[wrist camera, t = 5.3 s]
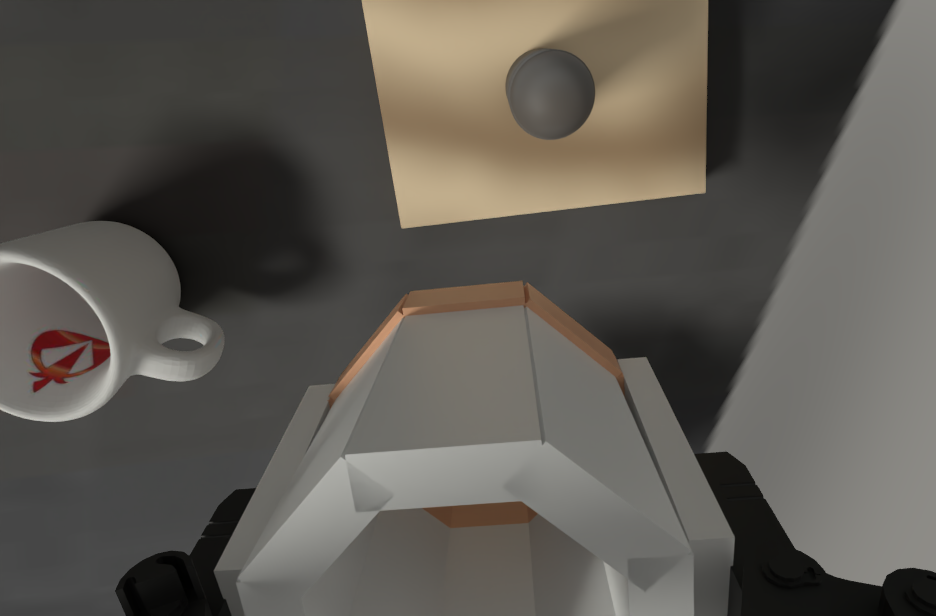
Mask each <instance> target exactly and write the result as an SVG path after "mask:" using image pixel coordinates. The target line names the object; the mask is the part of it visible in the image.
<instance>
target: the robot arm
mask: <svg viewBox="0 0 936 616" xmlns="http://www.w3.org/2000/svg"><path fill="white" fill-rule="evenodd" d="M617 362H618V364H619V367H620V369H621V371H622V373H623V376H624V389H625V399H626V402H627V404H628V406H629V409H630V411H631V413H632V415H633V418H634V420H635V422H636V424H637V427H638V429H639V431H640V434H641V436H642V438H643V440H644V443H645V445H646V447H647V449H648V452H649V454H650V456H651V459H652V461H653V463H654V465H655V468H656V470H657V472H658V475H659V477H660V479H661V481H662V484H663V486H664V488H665V490H666V493H667V495H668V497H669V500H670V502H671V504H672V506H673V509H674V511H675V513H676V516H677V518H678V520H679V522H680V525H681V527H682V529H683V531H684V534H685V536H686V538H687V541H688V543H689V545H690V547H691V550H692V552H693V554H694V616H936V573H934V572H932V571H928V570H922V569H916V568H907V569H898V570H896V571H894V572H892V573H891V574H888V575H887V576H886V579H885V581H884V583H883V586H882V587H881V586H876V585H871V584H865V583H859V582H854V581H849V580H845V579H841V578H837V577H834V576H832V575H829V574H827V573H825V571H824V570H823V568H822V567H821V566H820V565H819V564H818V563H817V562H816V561H815V560H814V559H812V558H811V557H809V556H808V555H806V554H804V553H803V552H801V551H798V550H796V549H795V548H794V546H793V544H792V543H791V541H790V539H789V538H788V536H787V535H786V533H785V531H784V530H783V528H782V526H781V524H780V523H779V521H778V520H777V518H776V516H775V514H774V513H773V511H772V509H771V508H770V506H769V504H768V503H767V501H766V500H765V499H764V498H763V494H762V493H761V491H760V489H759V488H758V486H757V485H755V481H754V479H753V478H752V476H751V474H750V473H749V471H748V469H747V468H746V466H745V465H744V464H742V463H741V462H740V461H739V460H737V459H736V458H735V457H733V456H732V455H731V454H729V453H728V452H716V453H702V454H694V453H693V451H692V449H691V447H690V445H689V443H688V441H687V439H686V437H685V435H684V433H683V431H682V429H681V427H680V425H679V423H678V421H677V419H676V417H675V415H674V413H673V411H672V409H671V407H670V404H669V402H668V400H667V398H666V396H665V394H664V392H663V390H662V388H661V386H660V384H659V382H658V380H657V378H656V376H655V374H654V372H653V370H652V368H651V366H650V364H649V362H648V360H647V358H646V357H640V358H628V359H617ZM334 386H335V384H326V385H314V386H309V387H308V389H307V391H306V393H305V395H304V397H303V399H302V401H301V403H300V405H299V406H298V408H297V410H296V412H295V414H294V416H293V418H292V420H291V422H290V424H289V426H288V428H287V430H286V432H285V434H284V436H283V437H282V439H281V441H280V443H279V445H278V447H277V449H276V451H275V453H274V455H273V457H272V459H271V461H270V463H269V465H268V467H267V468H266V470H265V472H264V474H263V476H262V478H261V480H260V482H259V484H258V486H257V488H252V489H239V490H235V491H234V492H233V493H232V494H231V495H229V496H228V497H227V498H226V499H225V500H224V501H223V502H222V503H221V504H220V505H219V506H218V507H217V509H216V511H215V513H214V514H213V516H212V518H211V519H210V521H209V525H207V526H206V528H205V530H204V532H203V533H202V535H201V539H199V540H198V542H197V544H196V545H195V547H194V549H193V551H192V552H191V554H190V556H189V555H187V554H186V553H184V552H180V551H168V552H163V553H158V554H155V555H153V556H151V557H149V558H146V559H144V560H142V561H141V562H139V563H138V564H137V565H135V566H134V567H132V568H131V569H130V570H129V571H128V572H127V573H126V574H125V575H124V576H123V577H122V578H121V580H120V581H119V584H118V586H117V588H116V590H115V592H116V594H117V596H118V599H119V601H120V603H121V605H122V608H123V610H124V612H125V614H126V616H245V615H244V611H243V607H242V603H241V600H240V596H239V592H238V588H237V585H236V581H237V580H238V579H237V578H238V576H239V574H240V572H241V571H242V569H243V567H244V565H245V563H246V561H247V560H248V558H249V556H250V554H251V552H252V551H253V549H254V547H255V545H256V543H257V541H258V540H259V538H260V536H261V534H262V532H263V531H264V529H265V527H266V525H267V523H268V521H269V520H270V518H271V516H272V514H273V512H274V511H275V509H276V507H277V505H278V503H279V501H280V500H281V498H282V496H283V494H284V492H285V491H286V489H287V487H288V485H289V483H290V482H291V480H292V478H293V476H294V474H295V472H296V471H297V469H298V467H299V465H300V463H301V462H302V460H303V458H304V456H305V454H306V452H307V451H308V449H309V447H310V445H311V443H312V442H313V440H314V438H315V436H316V434H317V432H318V431H319V429H320V427H321V425H322V423H323V422H324V420H325V418H326V416H327V414H328V412H329V411H330V407H329V401H327V400H329V399H330V397H328V396H329V394H330V393H331V391H332V389H333V387H334Z"/></svg>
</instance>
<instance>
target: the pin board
mask: <svg viewBox="0 0 936 616" xmlns="http://www.w3.org/2000/svg"><path fill="white" fill-rule="evenodd" d="M362 5H363V11H364V16H365V22H366V28H367V34H368V39H369V45H370V51H371V56H372V62H373V68H374V74H375V79H376V85H377V91H378V97H379V102H380V108H381V114H382V119H383V125H384V131H385V137H386V142H387V148H388V154H389V159H390V165H391V171H392V177H393V182H394V188H395V194H396V199H397V205H398V211H399V217H400V222H401V228H410V227H419V226H427V225H436V224H444V223H453V222H461V221H470V220H478V219H487V218H495V217H504V216H512V215H521V214H529V213H538V212H546V211H555V210H563V209H572V208H580V207H589V206H597V205H606V204H614V203H622V202H631V201H639V200H648V199H656V198H665V197H673V196H682V195H690V194H699V193H705V191H706V122H707V54H708V0H362Z"/></svg>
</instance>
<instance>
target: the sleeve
mask: <svg viewBox="0 0 936 616" xmlns="http://www.w3.org/2000/svg"><path fill="white" fill-rule="evenodd" d="M328 397H330V399H329V400H327V401H329V407H330V411H329V412H328V414H327V416H326V418H325V420H324V422H323V423H322V425H321V427H320V429H319V431H318V432H317V434H316V436H315V438H314V440H313V442H312V443H311V445H310V447H309V449H308V451H307V452H306V454H305V456H304V458H303V460H302V462H301V463H300V465H299V467H298V469H297V471H296V472H295V474H294V476H293V478H292V480H291V482H290V483H289V485H288V487H287V489H286V491H285V492H284V494H283V496H282V498H281V500H280V501H279V503H278V505H277V507H276V509H275V511H274V512H273V514H272V516H271V518H270V520H269V521H268V523H267V525H266V527H265V529H264V531H263V532H262V534H261V536H260V538H259V540H258V541H257V543H256V545H255V547H254V549H253V551H252V552H251V554H250V556H249V558H248V560H247V561H246V563H245V565H244V567H243V569H242V571H241V572H240V574H239V576H238V578H237V579H238V580H237V581H236V585H237V588H238V592H239V596H240V600H241V603H242V607H243V611H244V615H245V616H694V554H693V552H692V550H691V547H690V545H689V543H688V541H687V538H686V536H685V534H684V531H683V529H682V527H681V525H680V522H679V520H678V518H677V516H676V513H675V511H674V509H673V506H672V504H671V502H670V500H669V497H668V495H667V493H666V490H665V488H664V486H663V484H662V481H661V479H660V477H659V475H658V472H657V470H656V468H655V465H654V463H653V461H652V459H651V456H650V454H649V452H648V449H647V447H646V445H645V443H644V440H643V438H642V436H641V434H640V431H639V429H638V427H637V424H636V422H635V420H634V418H633V415H632V413H631V411H630V409H629V406H628V404H627V402H626V399H625V389H624V376H623V373H622V371H621V369H620V367H619V364H618V362H617V359H616V357H615V355H614V354H613V352H612V350H611V349H610V348H609V347H607V346H606V345H605V344H604V343H602V342H601V341H600V340H599V339H597V338H596V337H595V336H594V335H592V334H591V333H590V332H589V331H587V330H586V329H585V328H584V327H582V326H581V325H580V324H579V323H577V322H576V321H575V320H574V319H572V318H571V317H570V316H569V315H567V314H566V313H565V312H564V311H562V310H561V309H560V308H559V307H557V306H556V305H555V304H554V303H552V302H551V301H550V300H549V299H547V298H546V297H545V296H544V295H542V294H541V293H540V292H539V291H537V290H536V289H535V288H534V287H532V286H531V285H530V284H529V283H526V284H525V285H524V287H523V281H515V282H504V283H493V284H483V285H472V286H461V287H451V288H440V289H430V290H419V291H410V293H409V295H407V294H405V296H404V297H403V298H402V299H401V301H400V302H399V303H398V304H397V305H396V307H395V308H394V309H393V310H392V312H391V313H390V314H389V315H388V317H387V318H386V319H385V320H384V322H383V323H382V324H381V325H380V326H379V328H378V329H377V330H376V331H375V333H374V334H373V335H372V336H371V338H370V339H369V340H368V341H367V343H366V344H365V345H364V346H363V347H362V349H361V350H360V351H359V352H358V354H357V355H356V356H355V357H354V359H353V360H352V361H351V362H350V364H349V365H348V366H347V367H346V369H345V370H344V371H343V372H342V374H341V375H340V377H339V379H338V380H337V382H336V384H335V386H334V387H333V389H332V391H331V393H330V394H329V396H328Z"/></svg>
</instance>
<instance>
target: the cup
mask: <svg viewBox="0 0 936 616" xmlns="http://www.w3.org/2000/svg"><path fill="white" fill-rule="evenodd" d="M180 297H181V286H180V280H179V276H178V272H177V270H176V267H175V265H174V263H173V262H172V260H171V258H170V257H169V255H168V254H167V252H166V251H165V250H164V249H163V248H162V247H161V246H160V245H159V243H157V242H156V241H155V240H154V239H153V238H151V237H150V236H149V235H147V234H146V233H144V232H142V231H140V230H138V229H136V228H134V227H132V226H129V225H126V224H122V223H118V222H111V221H89V222H83V223H78V224H74V225H70V226H66V227H62V228H58V229H54V230H51V231H47V232H43V233H39V234H35V235H31V236H28V237H24V238H20V239H16V240H12V241H8V242H4V243H1V244H0V410H2V411H5V412H7V413H10V414H12V415H15V416H19V417H22V418H26V419H31V420H36V421H46V422H58V421H67V420H72V419H76V418H80V417H83V416H85V415H88V414H90V413H92V412H94V411H96V410H97V409H99V408H100V407H102V406H103V405H104V404H106V403H107V402H108V401H109V400H110V399H111V398H112V397H113V396H114V395H115V393H116V392H117V391H118V390H119V388H120V387H121V386H122V385H123V384H124V382H125V381H126V380H127V379H128V378H129V377H130V376H132V375H135V374H140V375H145V376H149V377H153V378H158V379H163V380H169V381H189V380H194V379H197V378H199V377H202V376H203V375H205V374H206V373H208V372H209V371H210V370H211V369H212V368H213V367H214V366H215V365H216V364H217V362H218V361H219V359H220V357H221V354H222V351H223V347H224V333H223V331H222V329H221V327H220V326H219V325H218V324H217V323H215V322H214V321H212V320H210V319H209V318H207V317H204V316H202V315H199V314H196V313H193V312H189V311H186V310H184V309H181V308H180V307H179V303H180ZM175 338H189V339H193V340H196V341H199V342H201V343H202V344H203V345H204V346H203V347H202V348H200V349H198V350H195V351H185V352H184V351H176V350H172V349H169V348H166V347H164V346H162V345H161V344H162V343H164V342H166V341H168V340H171V339H175Z"/></svg>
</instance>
